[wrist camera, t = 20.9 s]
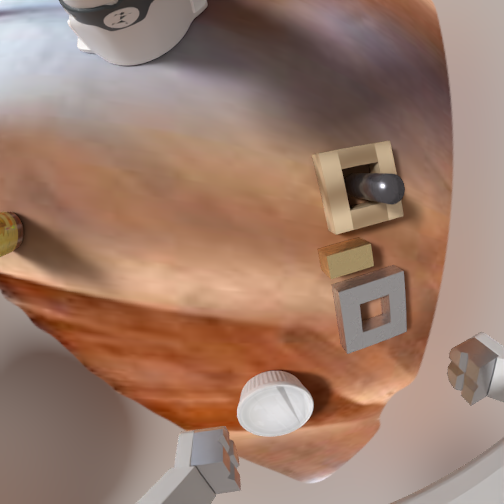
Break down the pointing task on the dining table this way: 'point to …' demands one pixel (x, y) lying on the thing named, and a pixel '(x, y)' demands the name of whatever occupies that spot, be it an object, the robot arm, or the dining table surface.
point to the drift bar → (345, 257)
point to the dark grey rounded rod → (375, 187)
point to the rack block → (335, 191)
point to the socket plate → (361, 291)
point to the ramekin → (274, 404)
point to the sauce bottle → (10, 232)
